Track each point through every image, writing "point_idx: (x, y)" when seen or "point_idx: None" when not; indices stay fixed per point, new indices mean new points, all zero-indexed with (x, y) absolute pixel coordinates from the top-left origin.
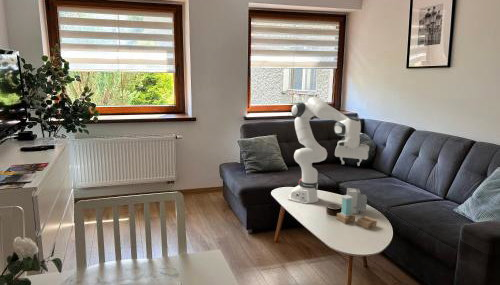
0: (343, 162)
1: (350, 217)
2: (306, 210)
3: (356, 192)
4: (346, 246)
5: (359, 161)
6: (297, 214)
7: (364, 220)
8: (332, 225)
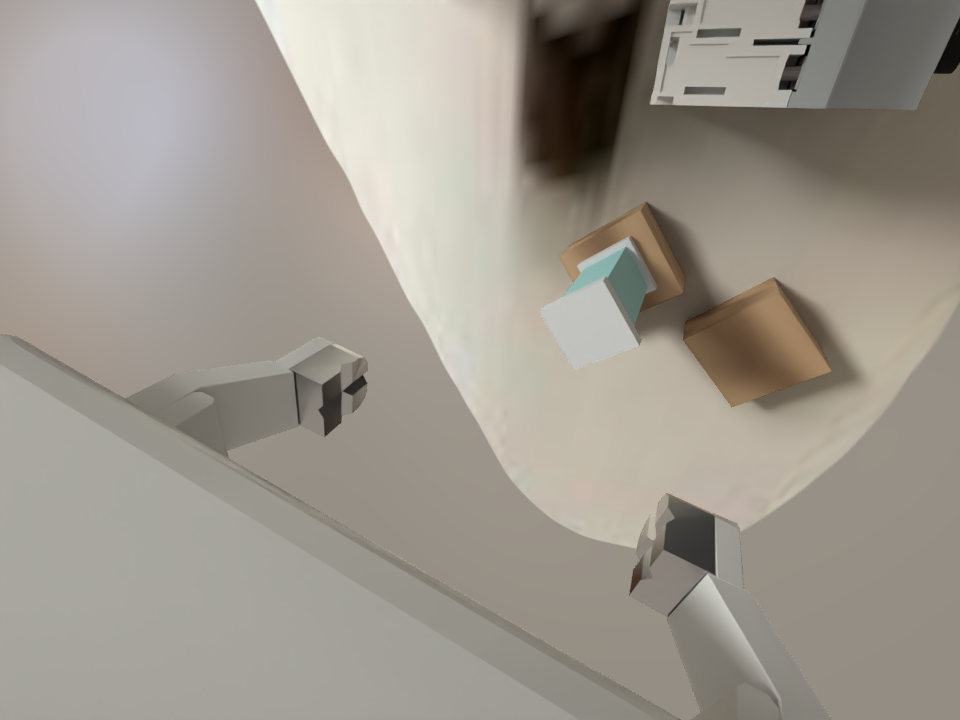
0: (329, 421)
1: (641, 309)
2: (397, 118)
3: (768, 106)
4: (567, 506)
5: (726, 624)
6: (364, 198)
7: (725, 366)
8: (535, 330)
